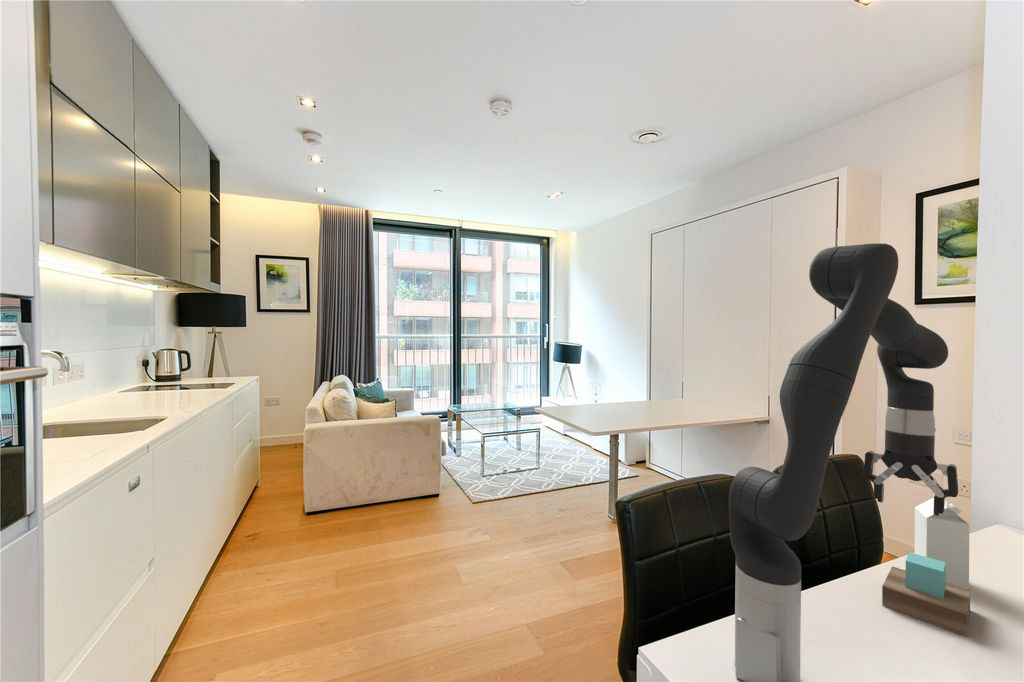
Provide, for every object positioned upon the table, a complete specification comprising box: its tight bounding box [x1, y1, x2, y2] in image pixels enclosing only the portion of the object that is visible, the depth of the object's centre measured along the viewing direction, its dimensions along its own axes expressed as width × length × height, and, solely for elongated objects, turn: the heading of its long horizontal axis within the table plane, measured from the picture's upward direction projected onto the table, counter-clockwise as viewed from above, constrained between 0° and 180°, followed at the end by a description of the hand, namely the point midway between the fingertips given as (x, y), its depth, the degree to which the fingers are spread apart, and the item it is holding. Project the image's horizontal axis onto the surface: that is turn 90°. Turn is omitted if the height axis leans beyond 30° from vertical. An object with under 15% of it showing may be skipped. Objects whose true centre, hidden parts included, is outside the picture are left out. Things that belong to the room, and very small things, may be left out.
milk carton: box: [914, 493, 970, 590], centre depth 97 cm, size 7×7×19 cm
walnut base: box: [881, 566, 971, 637], centre depth 87 cm, size 12×12×4 cm
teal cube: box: [905, 551, 946, 599], centre depth 87 cm, size 6×6×6 cm
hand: (907, 507), depth 88 cm, fingers open, 8 cm apart
